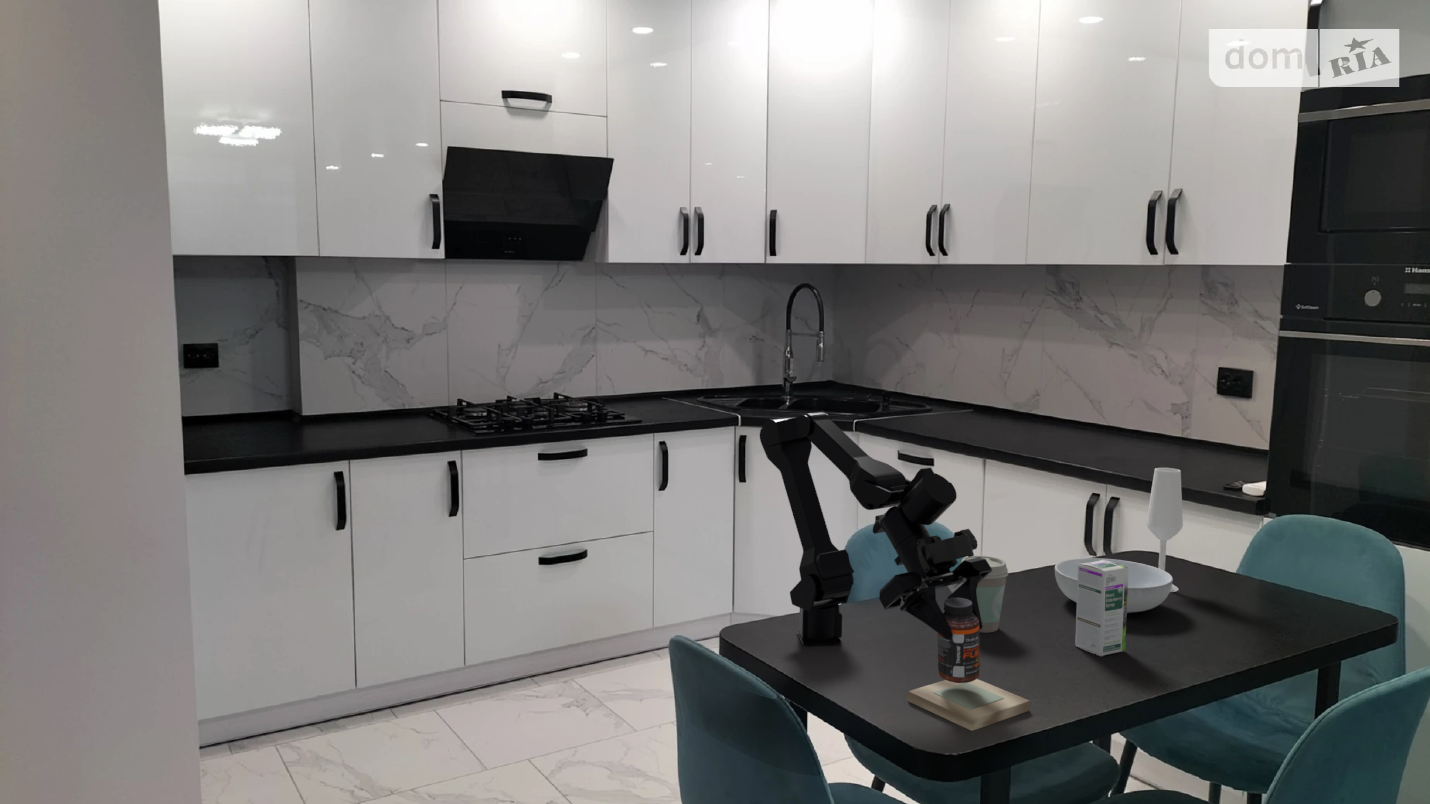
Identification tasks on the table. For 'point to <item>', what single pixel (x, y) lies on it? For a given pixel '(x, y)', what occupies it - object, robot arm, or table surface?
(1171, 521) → the champagne flute
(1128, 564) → the serving bowl
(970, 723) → the board
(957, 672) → the supplement bottle
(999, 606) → the coffee cup
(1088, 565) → the syrup box
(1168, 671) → the table surface
